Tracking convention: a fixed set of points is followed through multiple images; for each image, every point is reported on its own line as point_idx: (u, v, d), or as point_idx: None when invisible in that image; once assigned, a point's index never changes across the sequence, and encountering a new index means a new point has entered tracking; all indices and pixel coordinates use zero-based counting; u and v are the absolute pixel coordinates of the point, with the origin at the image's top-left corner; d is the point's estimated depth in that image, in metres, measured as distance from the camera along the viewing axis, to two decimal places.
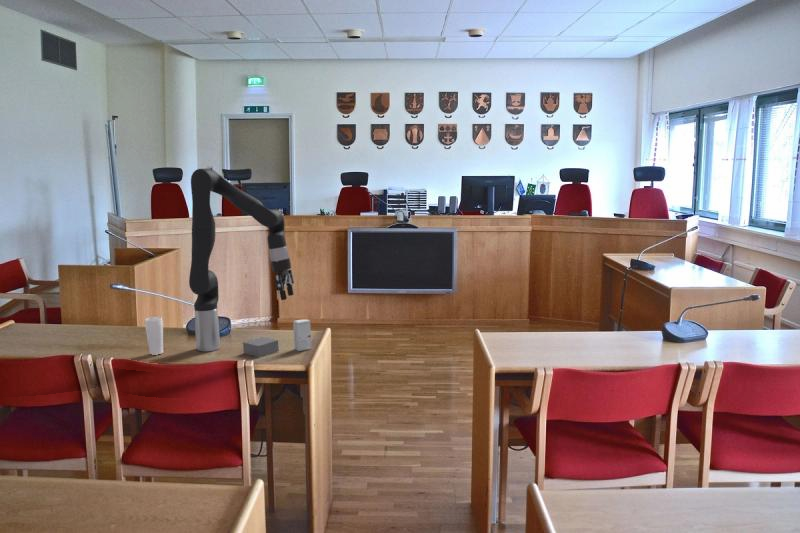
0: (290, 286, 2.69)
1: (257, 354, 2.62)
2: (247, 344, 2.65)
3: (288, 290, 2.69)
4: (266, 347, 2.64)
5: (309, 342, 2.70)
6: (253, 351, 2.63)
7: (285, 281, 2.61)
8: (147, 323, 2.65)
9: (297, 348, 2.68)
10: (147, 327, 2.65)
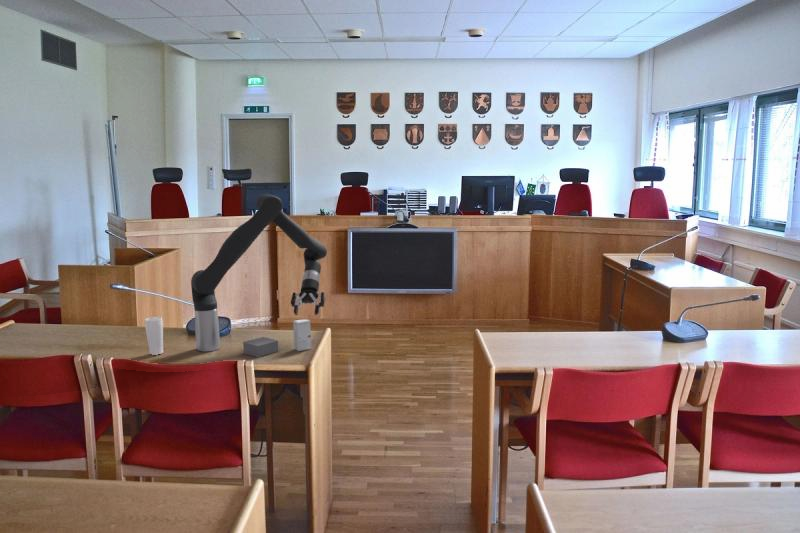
0: None
1: (256, 354, 2.62)
2: (247, 344, 2.65)
3: (297, 309, 2.78)
4: (265, 347, 2.63)
5: (309, 342, 2.70)
6: (252, 351, 2.63)
7: None
8: (147, 323, 2.65)
9: (297, 348, 2.68)
10: (147, 327, 2.65)
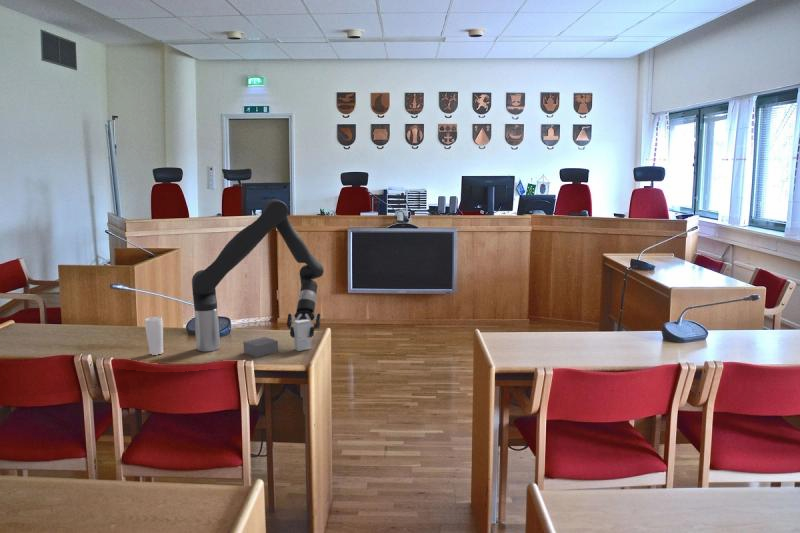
0: None
1: (255, 354, 2.62)
2: (247, 344, 2.65)
3: (293, 331, 2.70)
4: (265, 347, 2.63)
5: (309, 342, 2.70)
6: (252, 351, 2.63)
7: None
8: (147, 323, 2.65)
9: (297, 348, 2.68)
10: (147, 327, 2.65)
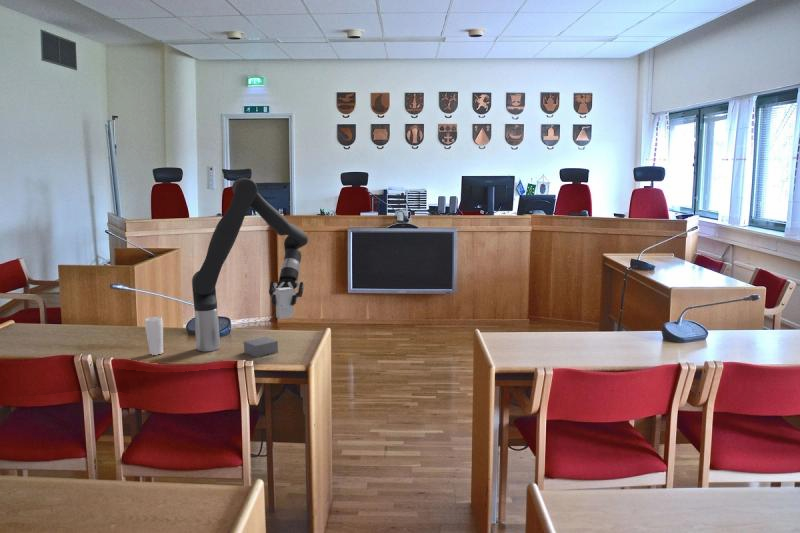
0: None
1: (254, 354, 2.62)
2: (247, 343, 2.66)
3: (275, 298, 2.67)
4: (264, 348, 2.63)
5: (291, 310, 2.67)
6: (251, 351, 2.64)
7: None
8: (147, 323, 2.65)
9: (279, 316, 2.65)
10: (147, 327, 2.65)
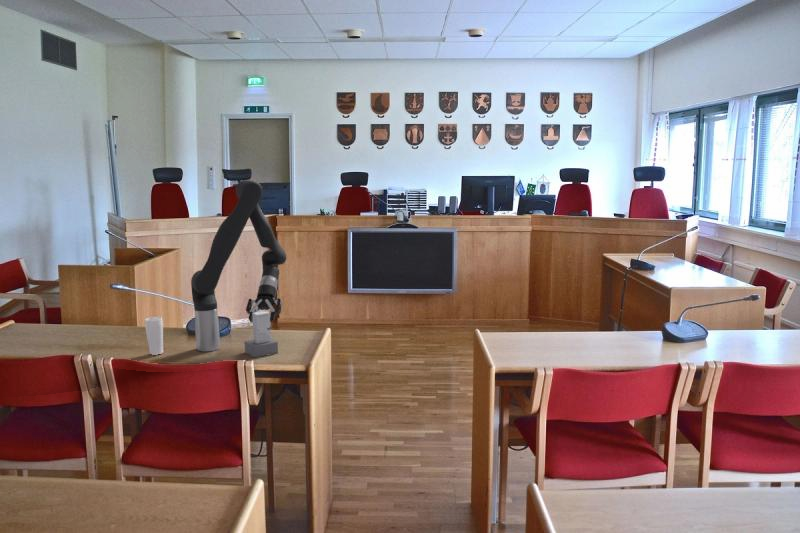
0: None
1: (253, 354, 2.61)
2: (247, 343, 2.66)
3: (252, 316, 2.69)
4: (263, 348, 2.62)
5: (268, 334, 2.66)
6: (251, 351, 2.63)
7: None
8: (147, 323, 2.65)
9: (256, 340, 2.64)
10: (147, 327, 2.65)
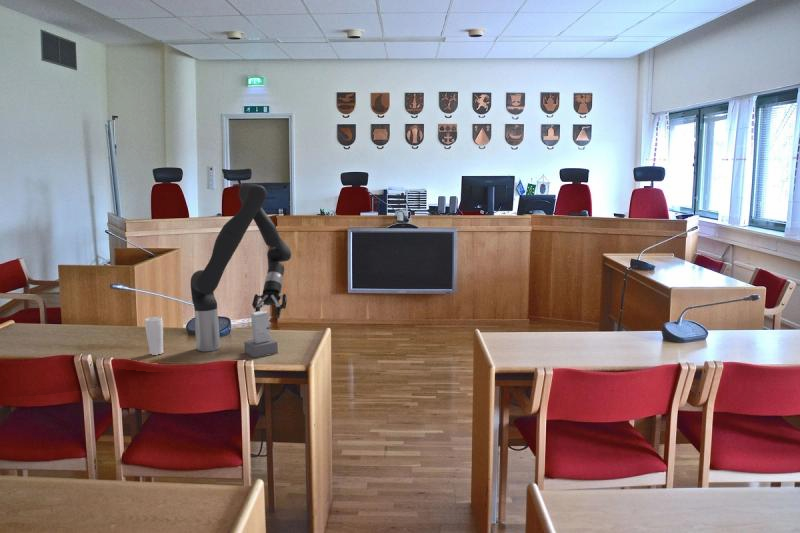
0: (259, 309, 2.79)
1: (253, 354, 2.61)
2: (247, 344, 2.66)
3: None
4: (263, 348, 2.62)
5: (268, 334, 2.66)
6: (250, 351, 2.63)
7: None
8: (147, 323, 2.65)
9: (256, 340, 2.64)
10: (147, 327, 2.65)
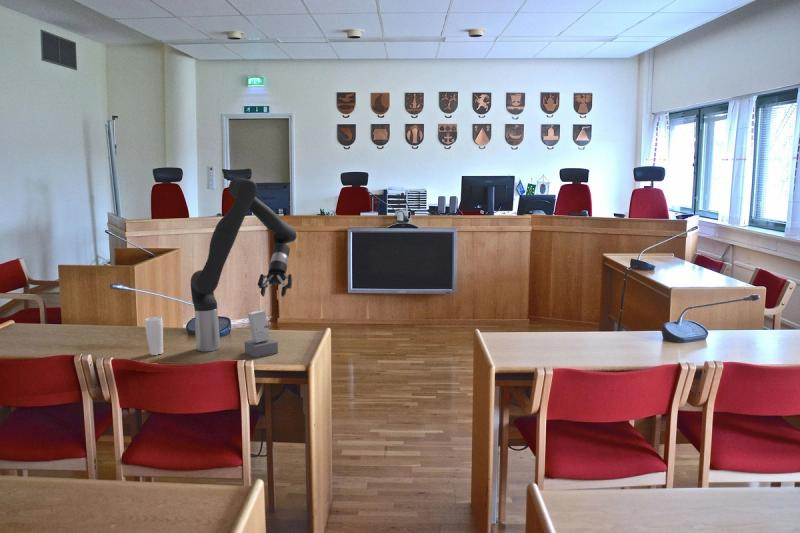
0: (265, 289, 2.80)
1: (253, 355, 2.61)
2: (247, 344, 2.66)
3: (264, 290, 2.79)
4: (263, 348, 2.62)
5: (267, 332, 2.66)
6: (251, 352, 2.63)
7: None
8: (147, 323, 2.65)
9: (255, 340, 2.64)
10: (147, 327, 2.65)
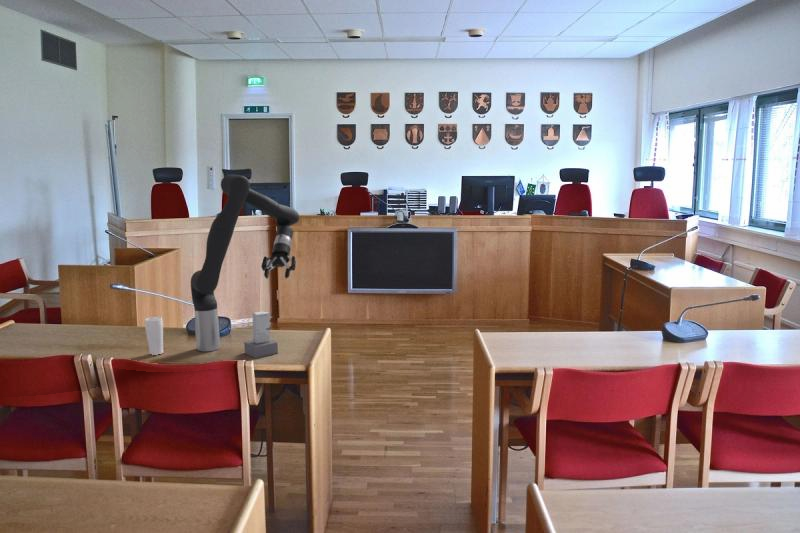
0: (268, 271, 2.80)
1: (253, 355, 2.61)
2: (247, 344, 2.65)
3: (267, 272, 2.78)
4: (263, 349, 2.62)
5: (268, 335, 2.66)
6: (250, 352, 2.63)
7: None
8: (147, 323, 2.65)
9: (255, 340, 2.64)
10: (147, 327, 2.65)
